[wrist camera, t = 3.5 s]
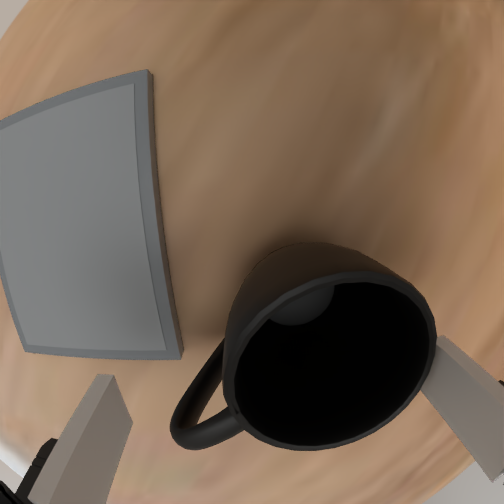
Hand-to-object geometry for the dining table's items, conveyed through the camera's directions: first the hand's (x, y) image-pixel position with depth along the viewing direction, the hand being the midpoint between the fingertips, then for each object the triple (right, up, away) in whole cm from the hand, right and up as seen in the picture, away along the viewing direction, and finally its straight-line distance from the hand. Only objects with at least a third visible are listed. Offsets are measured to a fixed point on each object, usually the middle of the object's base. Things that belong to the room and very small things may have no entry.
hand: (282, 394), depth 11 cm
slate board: (-13, +7, +6) cm, 17 cm away
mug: (0, +2, +8) cm, 9 cm away
